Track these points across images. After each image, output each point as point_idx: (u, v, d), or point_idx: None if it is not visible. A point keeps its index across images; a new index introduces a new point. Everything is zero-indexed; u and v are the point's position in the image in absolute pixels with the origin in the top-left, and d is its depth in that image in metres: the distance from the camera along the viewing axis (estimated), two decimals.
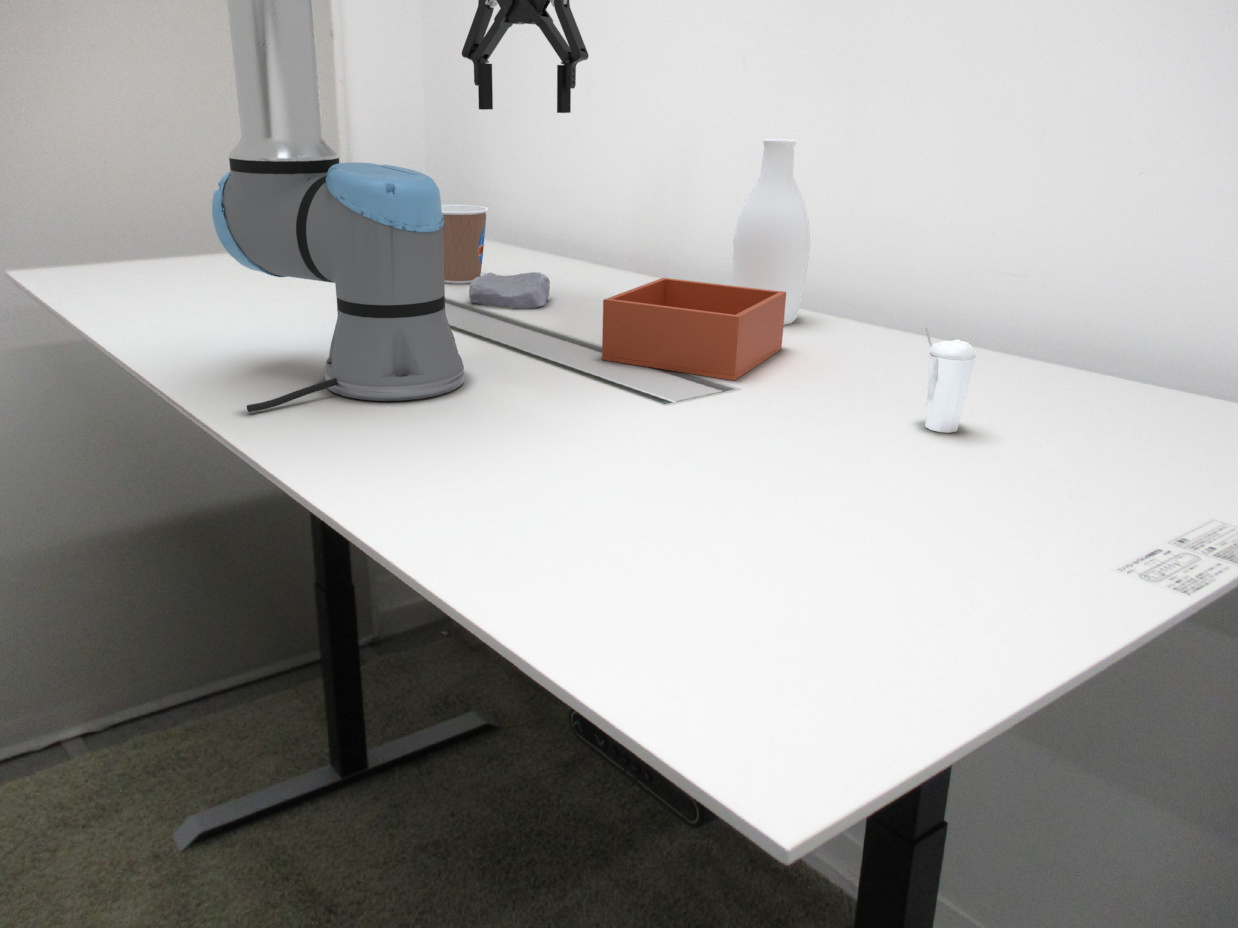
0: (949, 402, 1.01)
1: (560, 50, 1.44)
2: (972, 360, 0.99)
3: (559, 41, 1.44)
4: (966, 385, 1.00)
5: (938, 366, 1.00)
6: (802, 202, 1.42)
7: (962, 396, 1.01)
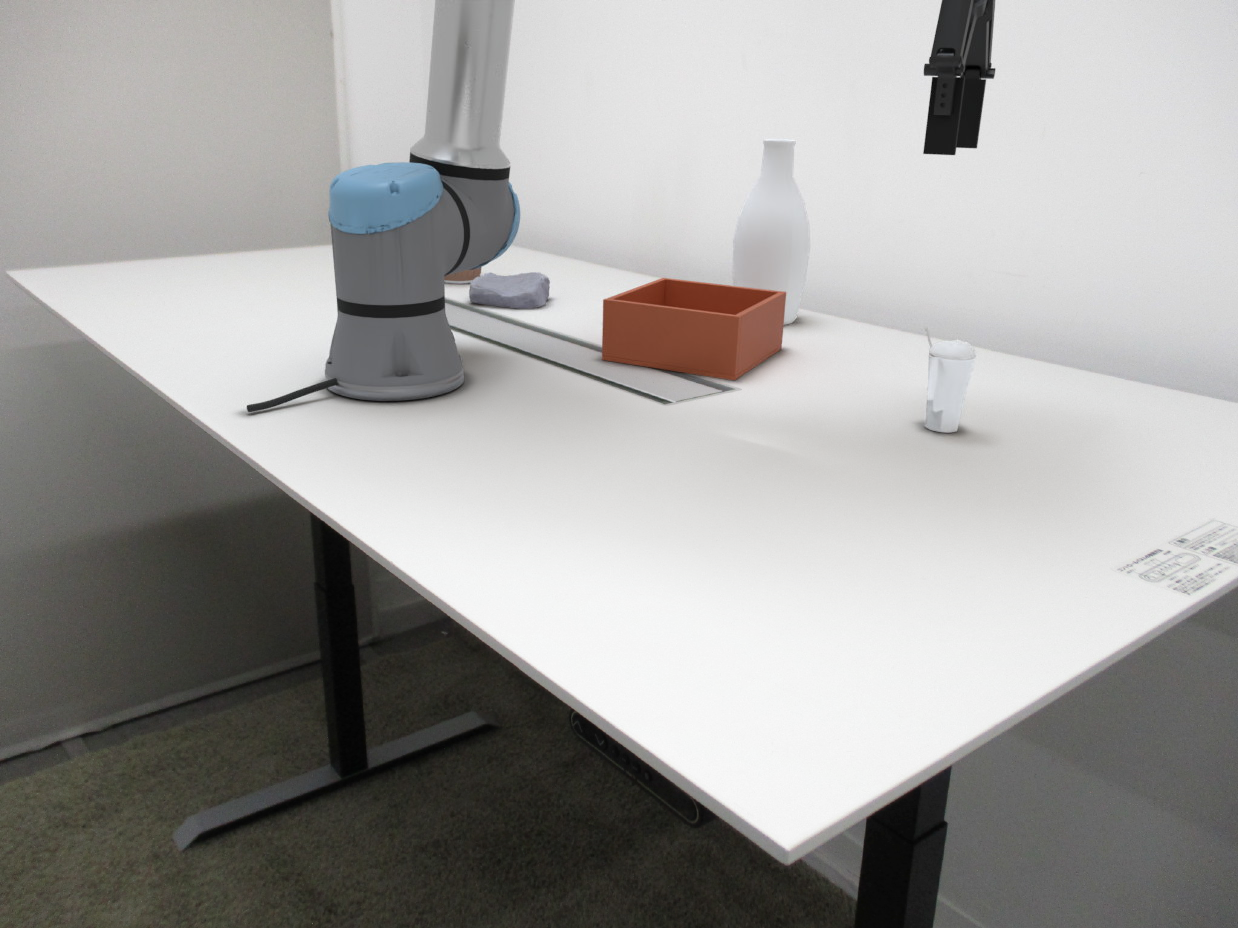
0: (949, 402, 1.01)
1: None
2: (972, 360, 0.99)
3: None
4: (966, 385, 1.00)
5: (938, 366, 1.00)
6: (802, 202, 1.42)
7: (962, 396, 1.01)
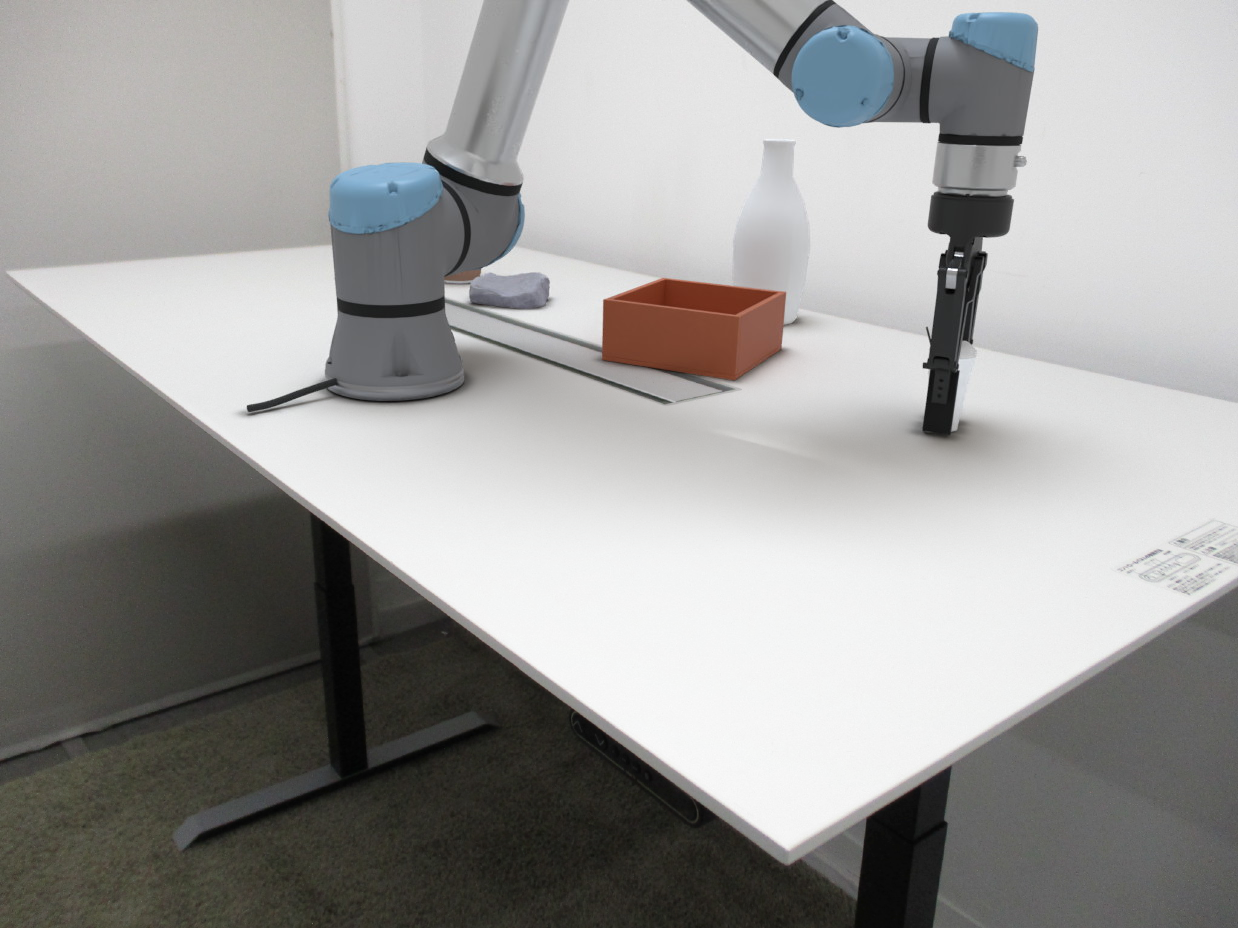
0: None
1: None
2: (972, 359, 0.99)
3: None
4: (966, 384, 1.01)
5: None
6: (802, 202, 1.42)
7: (962, 395, 1.01)
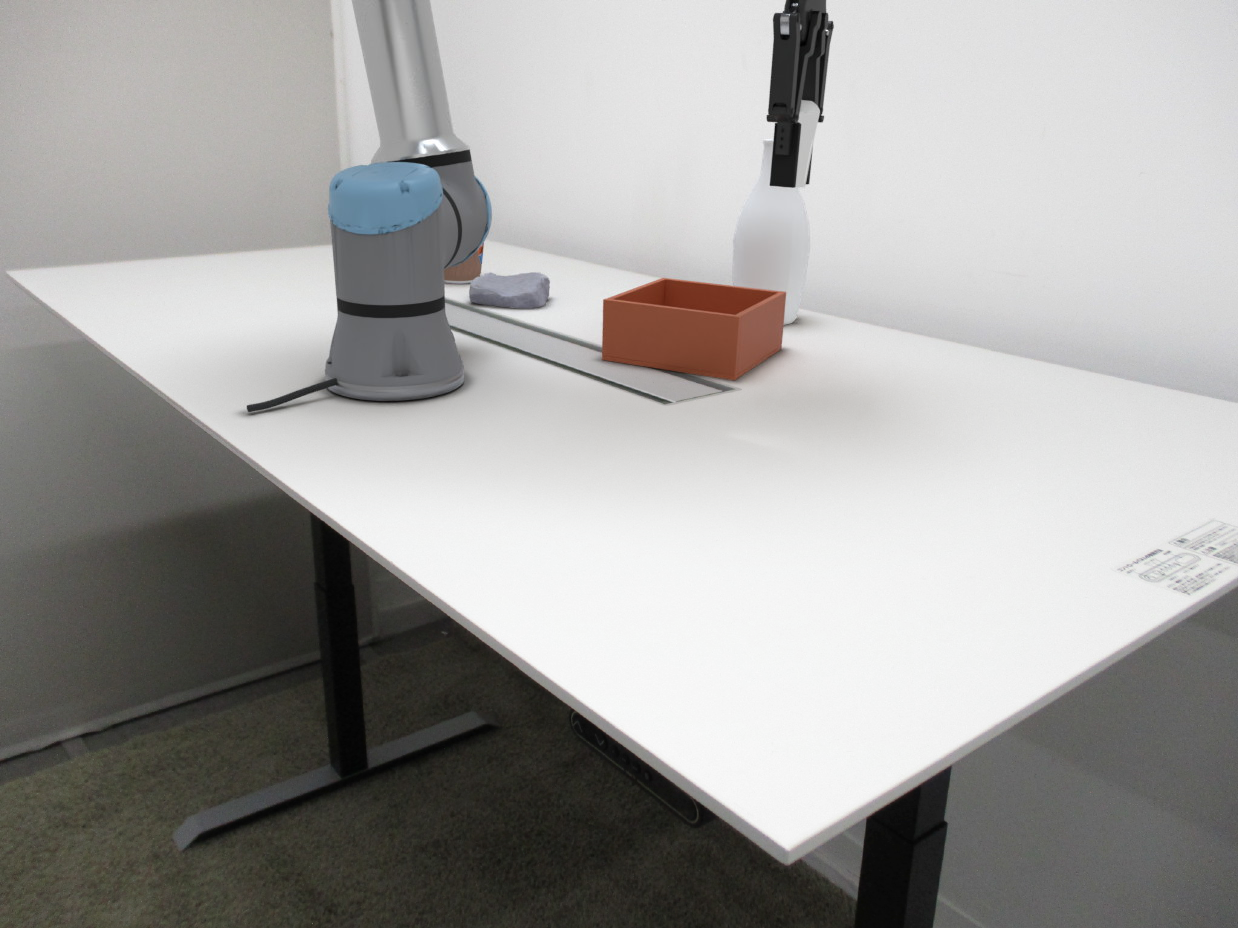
0: None
1: None
2: (814, 115, 1.07)
3: None
4: (809, 140, 1.08)
5: None
6: (802, 202, 1.42)
7: (806, 152, 1.09)
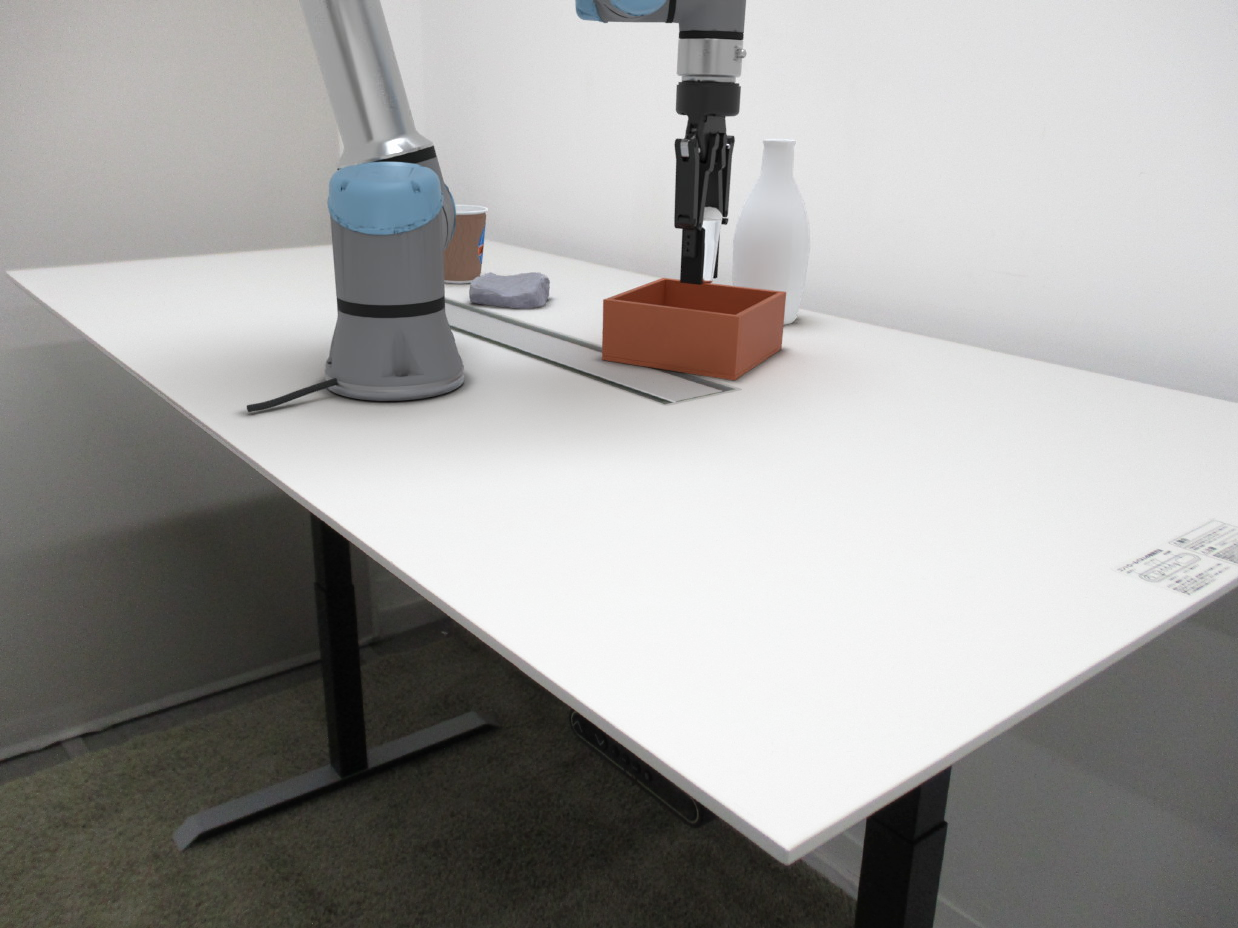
0: None
1: None
2: (717, 221, 1.22)
3: None
4: (713, 243, 1.23)
5: None
6: (802, 202, 1.42)
7: (711, 252, 1.23)
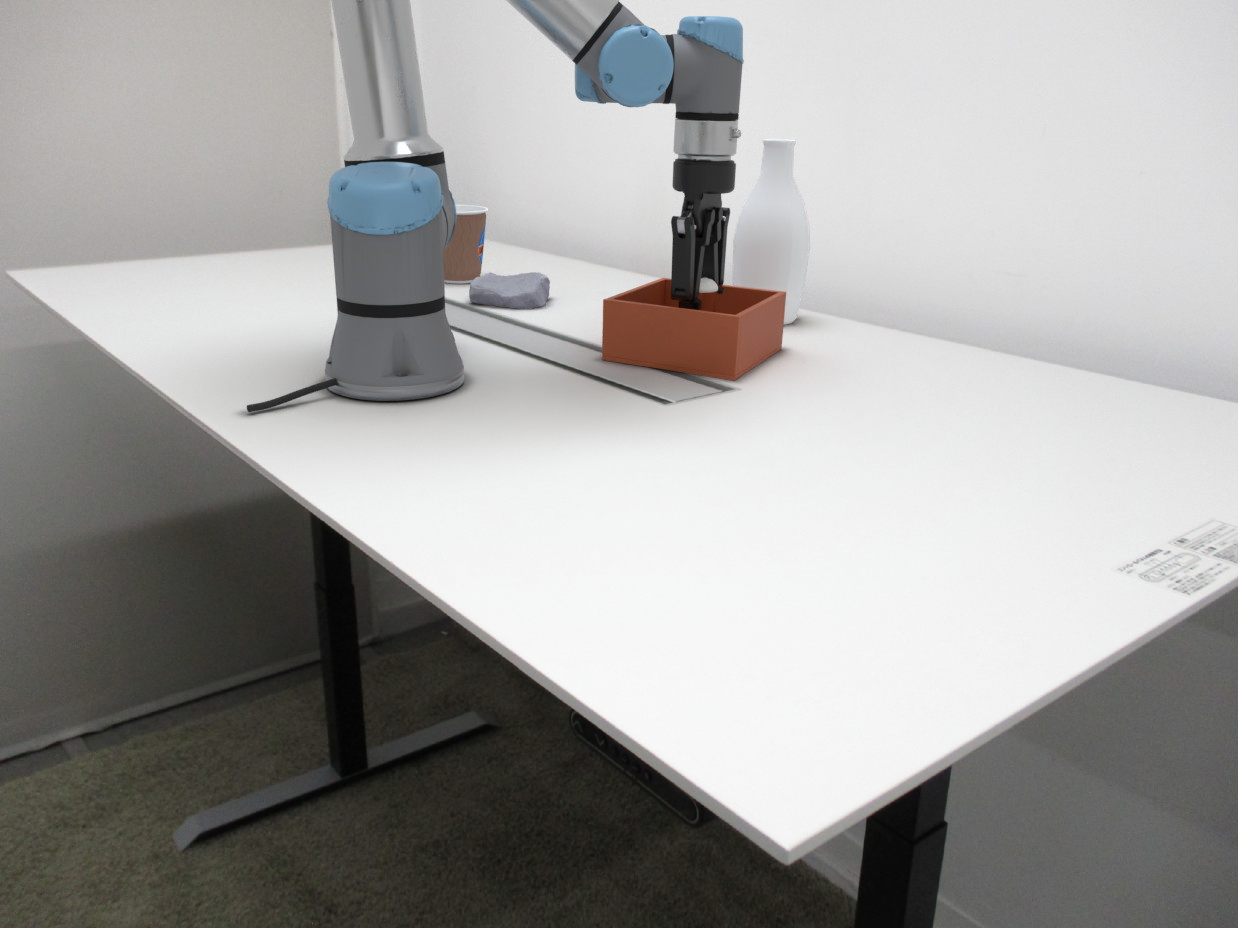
0: None
1: None
2: (712, 293, 1.25)
3: None
4: None
5: None
6: (802, 202, 1.42)
7: None
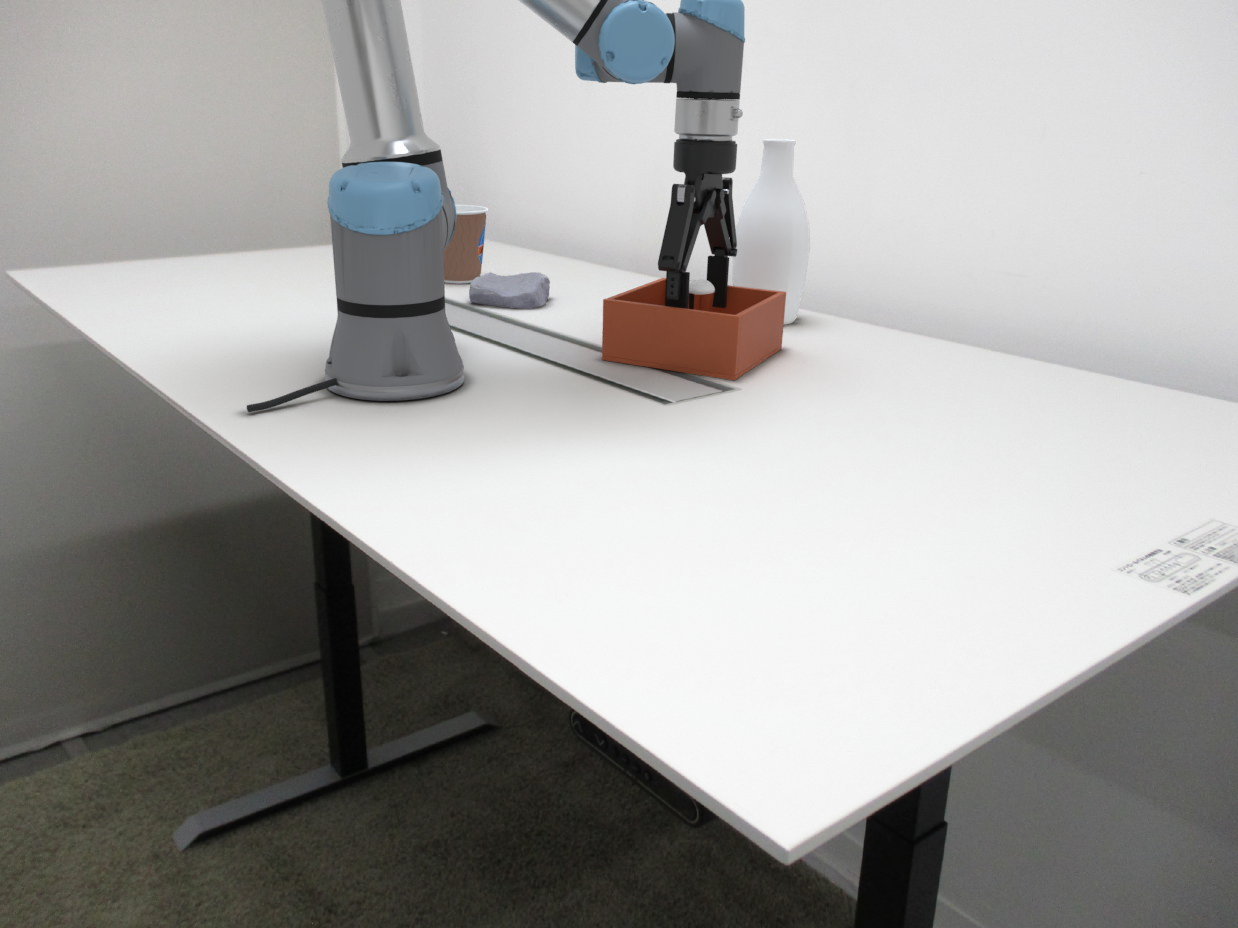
0: None
1: None
2: (709, 294, 1.24)
3: None
4: None
5: None
6: (802, 202, 1.42)
7: None
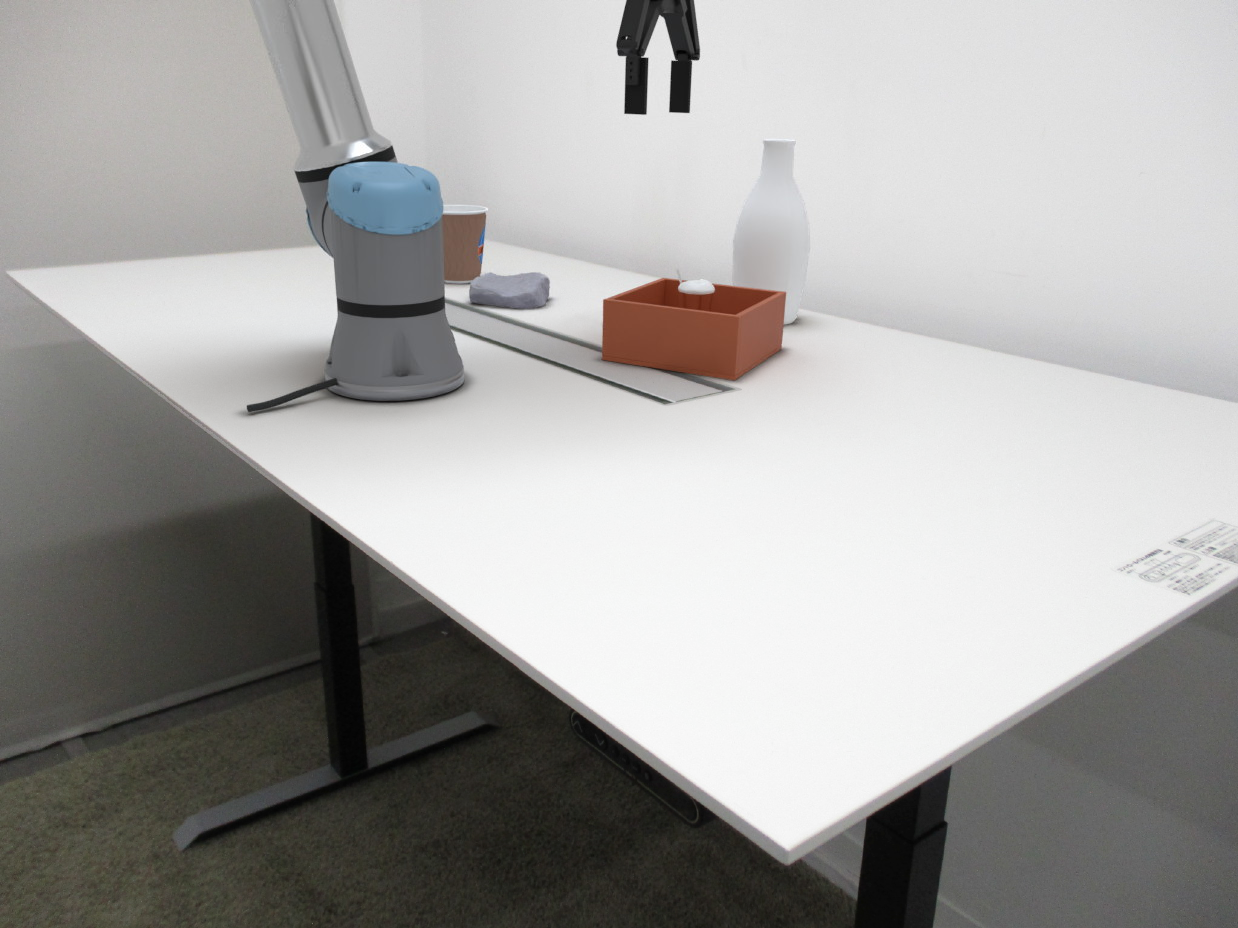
0: None
1: None
2: (709, 294, 1.24)
3: None
4: None
5: (683, 300, 1.24)
6: (802, 202, 1.42)
7: None
